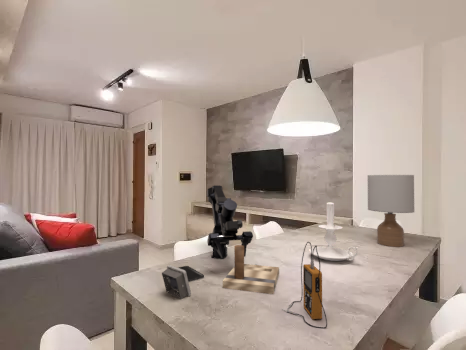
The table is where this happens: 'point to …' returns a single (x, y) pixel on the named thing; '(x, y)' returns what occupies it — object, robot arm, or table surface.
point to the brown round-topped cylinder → (239, 261)
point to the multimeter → (311, 290)
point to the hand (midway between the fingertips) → (233, 257)
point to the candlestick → (332, 240)
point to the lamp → (391, 204)
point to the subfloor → (254, 279)
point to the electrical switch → (176, 282)
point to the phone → (192, 273)
